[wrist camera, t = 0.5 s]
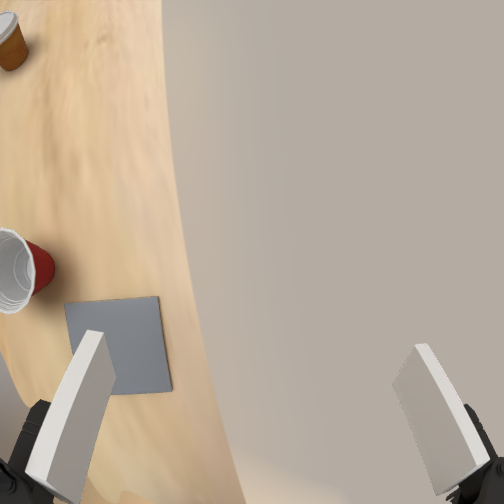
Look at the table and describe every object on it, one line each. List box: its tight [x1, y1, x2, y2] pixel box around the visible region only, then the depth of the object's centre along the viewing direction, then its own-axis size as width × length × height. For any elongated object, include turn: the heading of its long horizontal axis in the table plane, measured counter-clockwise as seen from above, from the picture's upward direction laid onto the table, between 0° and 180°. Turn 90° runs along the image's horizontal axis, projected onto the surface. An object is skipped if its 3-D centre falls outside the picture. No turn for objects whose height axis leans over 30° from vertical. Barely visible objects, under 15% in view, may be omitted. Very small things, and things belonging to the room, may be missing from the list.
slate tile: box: [64, 296, 172, 395], centre depth 42 cm, size 15×15×1 cm
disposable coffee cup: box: [0, 10, 28, 71], centre depth 32 cm, size 10×10×12 cm
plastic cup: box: [0, 228, 55, 314], centre depth 34 cm, size 11×11×12 cm
